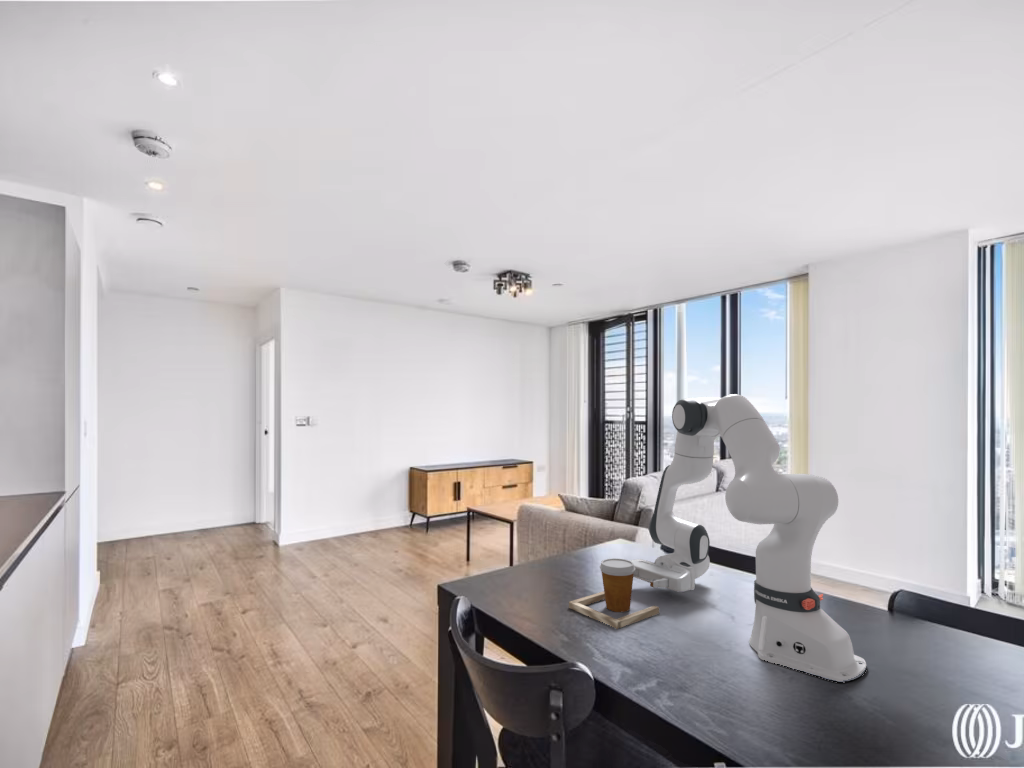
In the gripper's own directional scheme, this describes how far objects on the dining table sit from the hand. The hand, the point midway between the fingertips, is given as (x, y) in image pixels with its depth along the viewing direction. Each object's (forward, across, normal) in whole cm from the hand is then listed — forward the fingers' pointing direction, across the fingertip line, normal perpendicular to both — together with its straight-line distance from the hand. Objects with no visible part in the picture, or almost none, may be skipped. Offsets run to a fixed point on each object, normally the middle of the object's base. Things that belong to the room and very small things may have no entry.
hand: (638, 579), depth 146 cm
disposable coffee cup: (+8, 0, +6) cm, 10 cm away
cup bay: (+10, 0, +6) cm, 12 cm away
